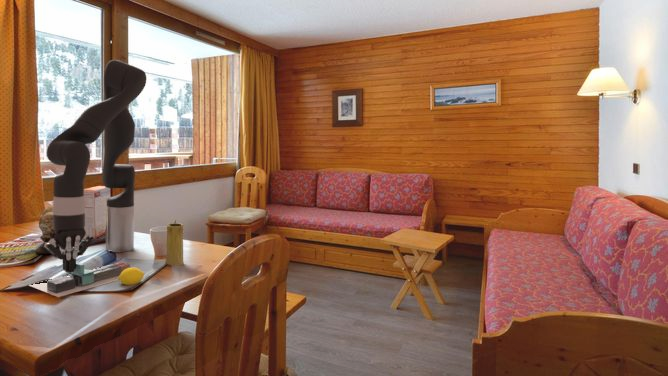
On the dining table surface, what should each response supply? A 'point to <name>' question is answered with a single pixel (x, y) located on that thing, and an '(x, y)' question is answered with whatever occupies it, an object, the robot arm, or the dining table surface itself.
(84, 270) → the lock collar
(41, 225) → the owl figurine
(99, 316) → the dining table surface
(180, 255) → the green pillar candle
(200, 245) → the dining table surface
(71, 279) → the tongs base
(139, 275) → the lemon
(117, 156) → the robot arm
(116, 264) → the jaw
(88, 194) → the cracker box
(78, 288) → the mat
